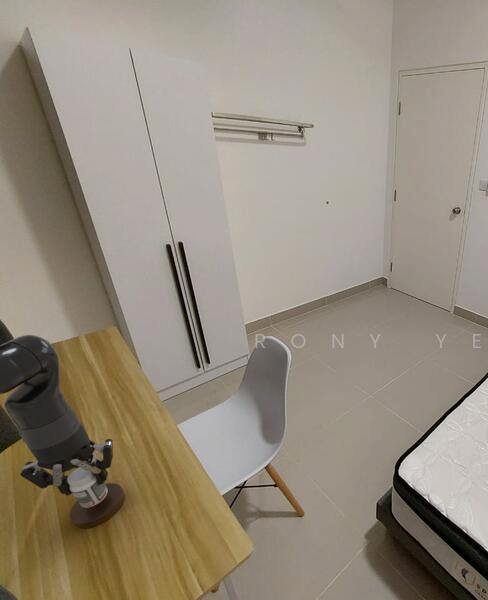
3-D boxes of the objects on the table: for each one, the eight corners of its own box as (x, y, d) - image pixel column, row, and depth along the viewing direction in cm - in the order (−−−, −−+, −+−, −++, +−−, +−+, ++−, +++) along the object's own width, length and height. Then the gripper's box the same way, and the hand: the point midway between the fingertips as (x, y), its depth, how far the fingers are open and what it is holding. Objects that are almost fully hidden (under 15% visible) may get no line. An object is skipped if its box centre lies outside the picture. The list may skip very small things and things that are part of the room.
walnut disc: (67, 536, 69) (64, 531, 68) (79, 498, 76) (76, 493, 75) (121, 516, 73) (118, 511, 72) (127, 482, 80) (125, 476, 79)
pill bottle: (103, 483, 76) (90, 459, 72) (111, 495, 73) (98, 471, 69) (77, 499, 72) (61, 475, 68) (84, 513, 70) (68, 489, 66)
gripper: (105, 406, 69) (130, 459, 77) (9, 429, 62) (48, 485, 70) (97, 432, 63) (125, 486, 71) (-9, 461, 57) (35, 517, 65)
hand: (86, 485), depth 71 cm, fingers closed on pill bottle, 4 cm apart
